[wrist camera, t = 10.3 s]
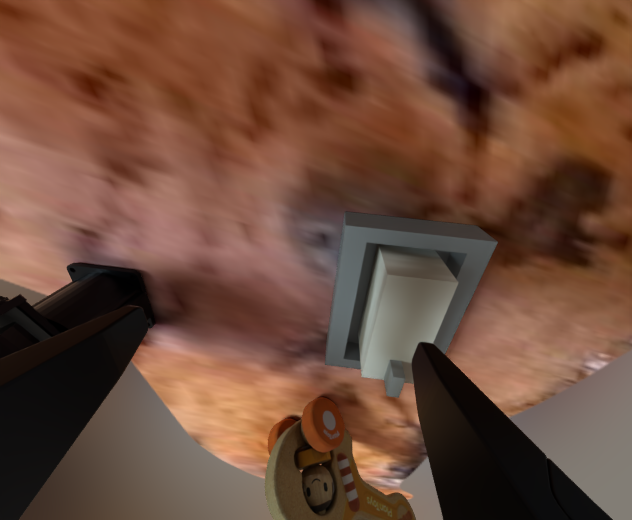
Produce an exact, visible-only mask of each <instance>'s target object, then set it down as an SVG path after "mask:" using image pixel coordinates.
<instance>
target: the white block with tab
mask: <svg viewBox="0 0 632 520" xmlns="http://www.w3.org/2000/svg"><path fill="white" fill-rule="evenodd" d="M457 285H458V281H457V280H456V278H455V277H454V276H453V274H452V273H451V272H450V270H449V269H448V267H447V266H446V265H445V263H444V262H443V261H442V259H441V258H440V256H439V255H438V254H437V252H436V251H435V250H430V249H421V248H412V247H403V246H394V245H385V244H377V248H376V253H375V257H374V262H373V266H372V271H371V276H370V280H369V285H368V289H367V294H366V299H365V303H364V308H363V313H362V317H361V322H360V326H359V331H358V338H359V351H360V363H361V376H362V377H365V378H373V379H381V380H384V382H385V388H386V394H387V396H391V397H399V395H400V392H401V390H402V387H403V384H404V383H412V384H414V381H413V374H412V365H411V363H412V358H413V355H414V353H415V350H416V348H417V345H418V343H419V342H428V343H433V342H434V340H435V338H436V335H437V333H438V330H439V328H440V326H441V323H442V321H443V319H444V316H445V314H446V311H447V309H448V307H449V304H450V302H451V300H452V297H453V295H454V292H455V290H456V288H457Z"/></svg>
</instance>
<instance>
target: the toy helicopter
mask: <svg viewBox="0 0 632 520" xmlns="http://www.w3.org/2000/svg"><path fill="white" fill-rule="evenodd" d="M268 451H269V455H270V457H269V460H268V465H267V470H266V476H265V495H266V500H267V504H268V507H269V511H270V513H271V515H272V517H273V519H274V520H416V518H415V515H414V512H413V510H412V508H411V506H410V504H409V502H408V501H407V499H406V498H405V497H404V496H403V495H402V494H400V493H392V494H389V495H385V494H383V493H382V492H380V491H379V490H377V489H375V488H374V487H372V486H371V485H369V484H367V483H366V482H364V481H363V480H362V478H361V477H360V475H359V473H358V470H357V466H356V463H355V461H354V458H353V454H352V438H351V436H350V434H349V433H348V431H346V430H345V426H344V421H343V418H342V416H341V413H340V411H339V410H338V408H337V406H336V405H335V404H334V403H333V402H332V401H331V400H329V399H327V398H324V397H320V398H317V399H315V400H313V401H312V402H310V403H309V404H308V405H307V406H306V407H305V409H304V411H303V415H302V419H301V420H299V421H295V420H293V419H284V420H282V421H280V422H278V423H277V424H276V425H275V426H274V427H273V428H272V429H271V431H270V434H269V438H268ZM320 464H321V465H320ZM299 470H303V471H302V473H301V472H300V471H299Z"/></svg>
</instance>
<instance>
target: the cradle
mask: <svg viewBox="0 0 632 520" xmlns="http://www.w3.org/2000/svg"><path fill="white" fill-rule="evenodd" d="M497 243H498V242H497V241H496V240H495V239H493V238H492V237H491V236H489V235H488V234H487V233H486V232H484V231H483V230H482V229H480V228H479V227H478V226H475V225H466V224H456V223H447V222H438V221H429V220H419V219H410V218H401V217H391V216H382V215H373V214H364V213H354V212H345V215H344V222H343V229H342V236H341V243H340V250H339V257H338V264H337V271H336V278H335V285H334V292H333V299H332V306H331V313H330V319H329V326H328V333H327V340H326V355H325V365H331V366H339V367H347V368H355V369H361V363H360V351H359V338H358V331H359V326H360V322H361V317H362V313H363V308H364V303H365V299H366V294H367V289H368V285H369V280H370V276H371V271H372V266H373V262H374V257H375V253H376V248H377V244H385V245H394V246H403V247H412V248H421V249H430V250H435V251H436V252H437V254H438V255H439V256H440V258H441V259H442V261H443V262H444V263H445V265H446V266H447V267H448V269H449V270H450V272H451V273H452V274H453V276H454V277H455V278H456V280H457V281H458V285H457V288H456V290H455V292H454V295H453V297H452V300H451V302H450V304H449V307H448V309H447V311H446V314H445V316H444V319H443V321H442V323H441V326H440V328H439V330H438V333H437V335H436V338H435V340H434V342H433V344H434V345H436V346H437V347H438V348H439V349H440V350H441V351H442V352H443V353H444V354H445V353H446V351H447V349H448V347H449V345H450V342H451V340H452V338H453V336H454V334H455V332H456V330H457V328H458V326H459V323H460V321H461V319H462V317H463V315H464V313H465V311H466V309H467V306H468V304H469V302H470V300H471V298H472V296H473V294H474V292H475V290H476V287H477V285H478V283H479V281H480V279H481V277H482V275H483V273H484V270H485V268H486V266H487V264H488V262H489V260H490V258H491V256H492V254H493V251H494V249H495V247H496V245H497Z"/></svg>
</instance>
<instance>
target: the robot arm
mask: <svg viewBox="0 0 632 520" xmlns="http://www.w3.org/2000/svg"><path fill="white" fill-rule="evenodd" d="M67 270H68V272H69V275H70V277H71V279H72V282H71V283H69V284H67V285H66V286H64V287H62V288H61V289H59V290H57V291H56V292H54V293H52V294H51V295H49V296H47V297H46V298H44V299H42V300H41V301H39V302H37V303H36V304H34V305H32V306H31V305H30V304H29V303H27V302H26V300H27V299H25V298H24V297H23V296H22V295H21V294H19V295H18V296H15V297H13V298H11V299H8V298H7V297H6V298H5V297H2V296H0V520H19V519H20V517H21V516H22V514H23V513H24V511H25V510H26V509H27V507H28V506H29V504H30V503H31V502H32V500H33V499H34V497H35V496H36V495H37V493H38V492H39V491H40V489H41V488H42V486H43V485H44V484H45V482H46V481H47V479H48V478H49V477H50V475H51V474H52V472H53V471H54V470H55V468H56V467H57V465H58V464H59V463H60V461H61V460H62V458H63V457H64V456H65V454H66V453H67V451H68V450H69V448H70V447H71V446H72V444H73V443H74V442H75V440H76V438H77V437H78V436H79V435H80V433H81V432H82V430H83V429H84V428H85V426H86V425H87V423H88V422H89V421H90V419H91V418H92V416H93V415H94V414H95V412H96V411H97V410H98V408H99V407H100V405H101V404H102V402H103V401H104V400H105V398H106V397H107V396H108V394H109V393H110V391H111V390H112V389H113V387H114V386H115V384H116V383H117V381H118V380H119V379H120V377H121V376H122V374H123V372H124V371H125V369H126V367H127V366H128V364H129V362H130V361H131V359H132V357H133V356H134V354H135V352H136V350H137V349H138V347H139V345H140V344H141V342H142V340H143V338H144V337H145V335H146V333H147V331H148V328H152V327H153V326H154V325H155V320H154V316H153V313H152V310H151V306H150V303H149V299H148V296H147V293H146V289H145V286H144V282H143V279H142V276H141V274H140V273H139V272H138V271H136V270H129V269H121V268H112V267H104V266H96V265H87V264H79V263H72V264H70V265H68V266H67ZM411 365H412V374H413V381H414V388H415V396H416V403H417V410H418V416H419V421H420V425H421V430H422V434H423V438H424V442H425V446H426V450H427V454H428V458H429V462H430V467H431V470H432V475H433V479H434V483H435V487H436V491H437V495H438V499H439V503H440V507H441V512H442V516H443V520H613V519H612V518H610V516H609V515H607V514H606V513H605V512H604V511H603V510H602V509H601V508H600V507H599V506H598V505H597V504H595V503H594V502H593V501H592V500H591V499H590V498H589V497H588V496H587V495H586V494H585V493H584V492H583V491H582V490H581V489H580V488H579V487H578V486H577V485H576V484H575V483H574V482H573V481H572V480H571V479H570V478H568V476H567V475H565V473H564V472H563V471H562V470H561V469H560V468H558V466H556V464H555V463H554V462H552V461H551V460H550V459H549V458H547V457H546V455H545V454H544V453H543V452H542V451H541V450H540V449H539V448H538V447H537V446H536V445H535V444H534V443H533V442H532V441H531V440H530V439H529V438H528V437H527V436H526V435H525V434H524V433H523V432H522V431H521V430H520V429H519V428H518V427H517V426H516V425H515V424H514V423H513V422H512V421H511V420H510V419H509V418H508V417H507V416H506V415H505V414H504V413H503V412H502V411H501V410H500V409H499V408H498V407H497V406H496V405H495V404H494V403H493V402H492V401H491V400H490V399H489V398H488V397H487V396H486V395H485V394H484V393H483V392H482V391H481V390H480V389H479V388H478V387H477V386H476V385H475V384H474V383H473V382H472V381H471V380H470V379H469V378H468V377H467V376H466V375H465V374H464V373H463V372H462V371H461V370H460V369H459V368H458V367H457V366H456V365H455V364H454V363H453V362H452V361H451V360H450V359H449V358H448V357H447V356H446V355H445V354H444V353H443V352H442V351H441V350H440V349H439V348H438V347H437V346H436V345H434V344H433V343H428V342H419V343H418V345H417V348H416V350H415V353H414V355H413V358H412V363H411Z"/></svg>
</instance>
